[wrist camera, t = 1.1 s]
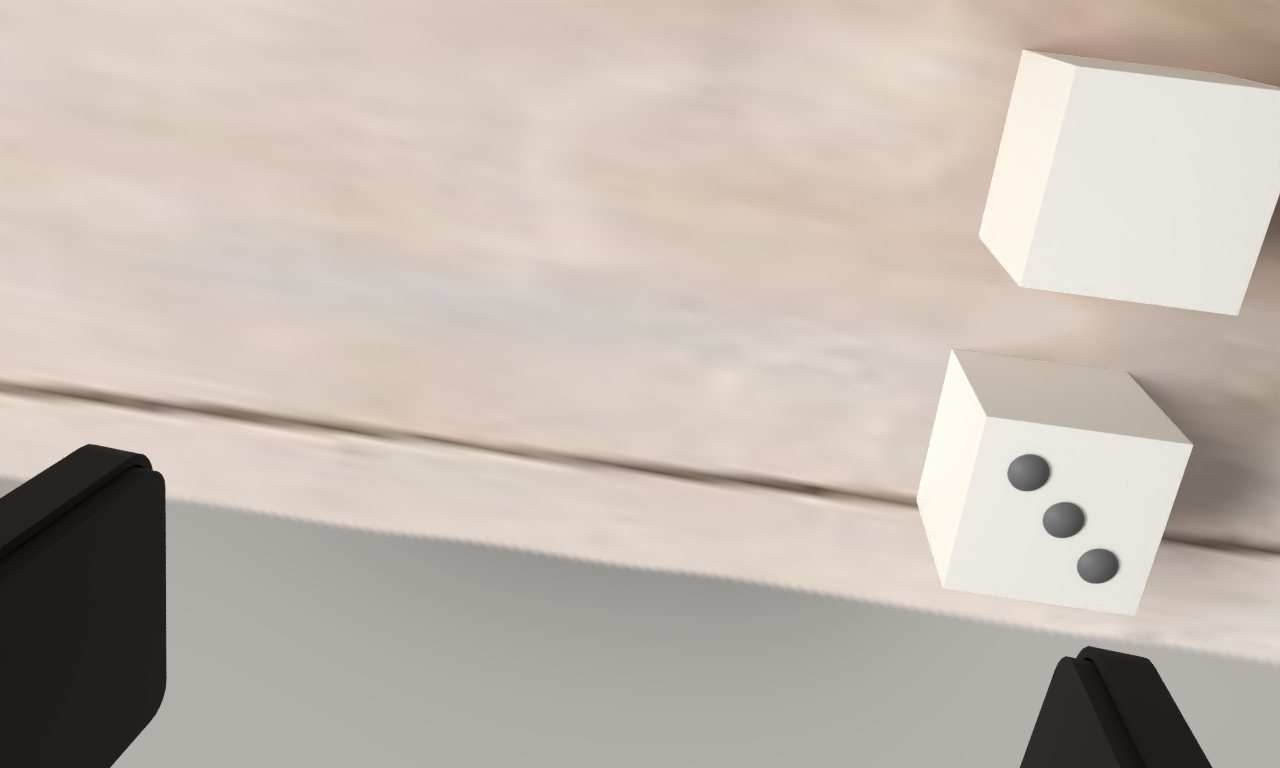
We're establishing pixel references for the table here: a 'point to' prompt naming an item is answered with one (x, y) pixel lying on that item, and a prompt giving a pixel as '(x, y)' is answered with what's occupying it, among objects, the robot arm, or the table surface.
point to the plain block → (1134, 181)
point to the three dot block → (1048, 482)
